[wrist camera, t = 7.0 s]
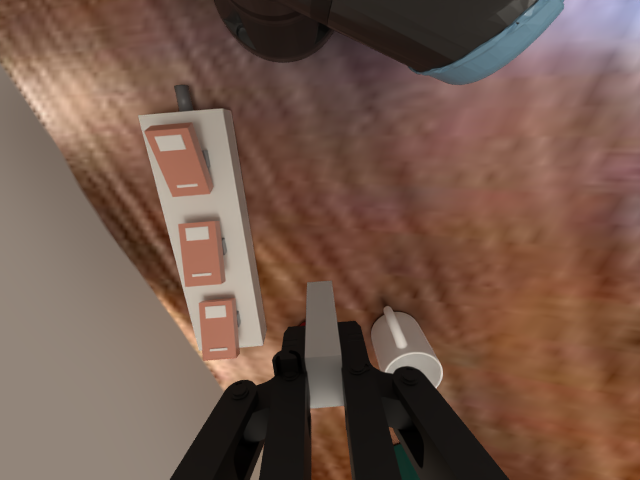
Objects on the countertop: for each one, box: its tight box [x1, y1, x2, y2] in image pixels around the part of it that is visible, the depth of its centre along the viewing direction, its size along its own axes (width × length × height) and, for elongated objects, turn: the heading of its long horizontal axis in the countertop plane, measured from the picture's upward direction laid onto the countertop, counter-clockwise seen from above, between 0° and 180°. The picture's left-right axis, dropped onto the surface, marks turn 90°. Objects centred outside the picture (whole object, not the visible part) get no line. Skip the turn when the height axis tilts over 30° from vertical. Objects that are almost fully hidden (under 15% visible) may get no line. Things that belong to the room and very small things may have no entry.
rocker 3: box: [199, 298, 240, 361], centre depth 42 cm, size 8×5×2 cm, turn 4°
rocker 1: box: [144, 122, 214, 197], centre depth 35 cm, size 8×5×2 cm, turn 5°
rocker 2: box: [178, 221, 226, 287], centre depth 38 cm, size 8×5×2 cm, turn 4°
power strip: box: [138, 85, 267, 351], centre depth 42 cm, size 37×10×5 cm, turn 4°
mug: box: [371, 306, 443, 388], centre depth 46 cm, size 12×8×10 cm
